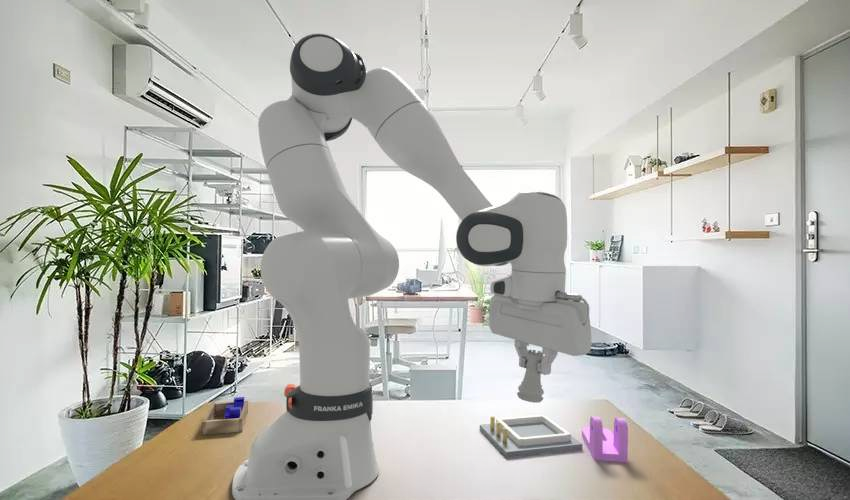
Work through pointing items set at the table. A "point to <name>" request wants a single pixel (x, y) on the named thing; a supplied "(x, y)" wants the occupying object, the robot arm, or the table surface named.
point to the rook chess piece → (532, 379)
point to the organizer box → (223, 420)
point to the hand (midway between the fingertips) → (534, 370)
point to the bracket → (607, 440)
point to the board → (528, 436)
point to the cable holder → (235, 408)
